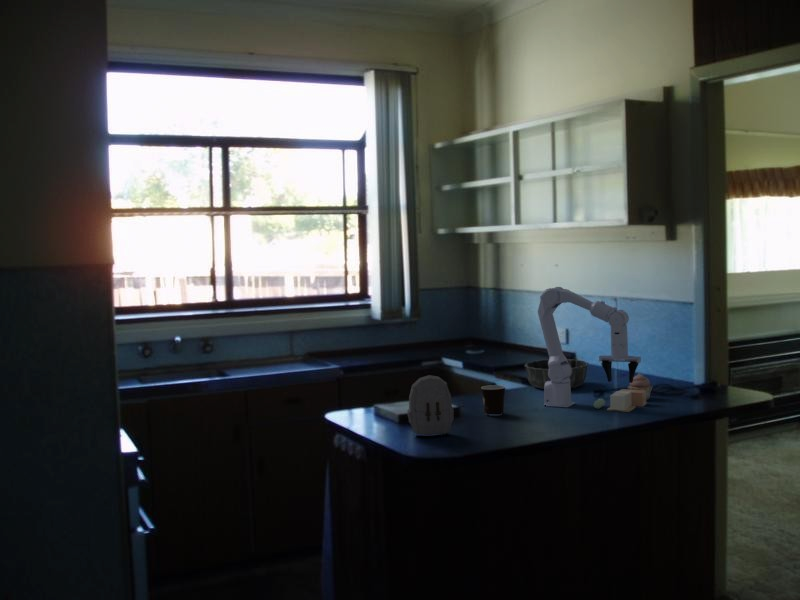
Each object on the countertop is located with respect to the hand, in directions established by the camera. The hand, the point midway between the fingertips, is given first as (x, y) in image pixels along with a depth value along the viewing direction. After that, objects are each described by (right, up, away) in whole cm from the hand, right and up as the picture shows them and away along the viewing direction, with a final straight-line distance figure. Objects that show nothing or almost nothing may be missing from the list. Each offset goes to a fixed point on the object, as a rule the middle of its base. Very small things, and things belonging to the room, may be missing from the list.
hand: (620, 381), depth 286 cm
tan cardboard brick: (+6, -9, +7) cm, 13 cm away
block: (0, -9, +1) cm, 9 cm away
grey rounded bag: (-69, -15, -27) cm, 75 cm away
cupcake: (+12, -8, +17) cm, 22 cm away
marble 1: (-7, -10, +3) cm, 13 cm away
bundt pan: (-13, -8, +51) cm, 53 cm away
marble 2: (-5, -10, +6) cm, 13 cm away
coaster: (+1, -10, +1) cm, 10 cm away
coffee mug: (-45, -12, +3) cm, 46 cm away
